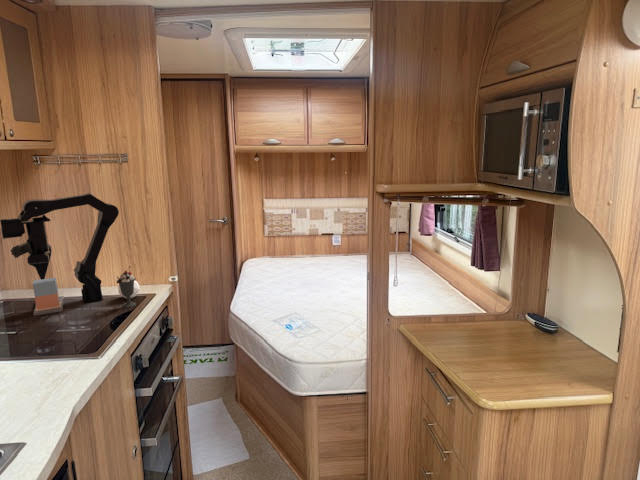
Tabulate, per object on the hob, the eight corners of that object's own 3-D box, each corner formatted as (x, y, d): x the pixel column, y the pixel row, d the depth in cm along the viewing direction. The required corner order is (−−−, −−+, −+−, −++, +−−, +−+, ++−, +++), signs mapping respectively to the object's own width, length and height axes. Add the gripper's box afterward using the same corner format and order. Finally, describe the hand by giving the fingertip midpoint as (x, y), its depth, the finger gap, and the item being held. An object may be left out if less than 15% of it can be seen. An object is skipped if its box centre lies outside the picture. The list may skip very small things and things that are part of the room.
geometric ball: (125, 305, 176) (110, 292, 173) (135, 292, 183) (120, 279, 180) (137, 298, 173) (122, 284, 170) (146, 285, 180) (132, 271, 177)
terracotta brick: (59, 302, 170) (57, 290, 169) (58, 306, 166) (56, 293, 165) (38, 305, 167) (36, 293, 166) (37, 309, 163) (34, 296, 162)
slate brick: (57, 290, 169) (55, 277, 167) (57, 293, 165) (54, 280, 163) (36, 293, 165) (33, 280, 164) (34, 296, 161) (32, 283, 160)
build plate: (63, 298, 178) (63, 295, 177) (62, 311, 164) (61, 308, 164) (37, 302, 174) (37, 299, 173) (33, 315, 160) (33, 312, 160)
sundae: (141, 302, 172) (137, 265, 169) (133, 308, 165) (128, 270, 162) (125, 301, 173) (121, 264, 169) (116, 308, 166) (111, 269, 163)
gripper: (13, 232, 164) (20, 272, 168) (6, 242, 148) (14, 286, 152) (48, 229, 169) (54, 268, 173) (44, 238, 153) (51, 281, 157)
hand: (43, 275), depth 163 cm, fingers open, 9 cm apart
